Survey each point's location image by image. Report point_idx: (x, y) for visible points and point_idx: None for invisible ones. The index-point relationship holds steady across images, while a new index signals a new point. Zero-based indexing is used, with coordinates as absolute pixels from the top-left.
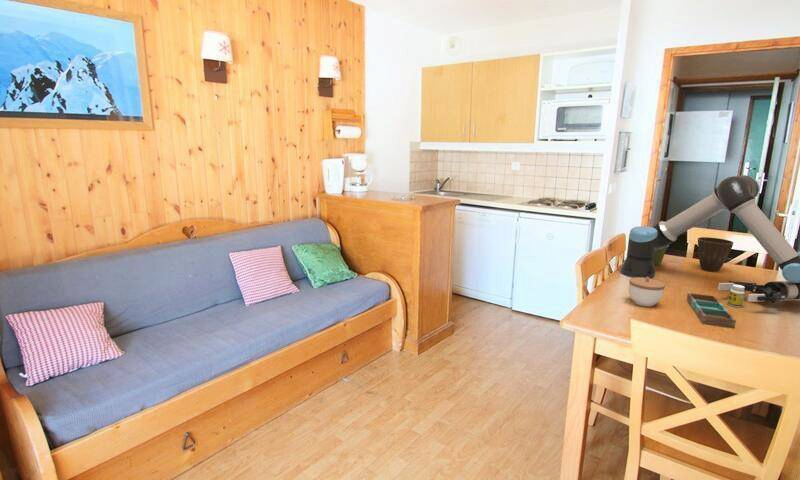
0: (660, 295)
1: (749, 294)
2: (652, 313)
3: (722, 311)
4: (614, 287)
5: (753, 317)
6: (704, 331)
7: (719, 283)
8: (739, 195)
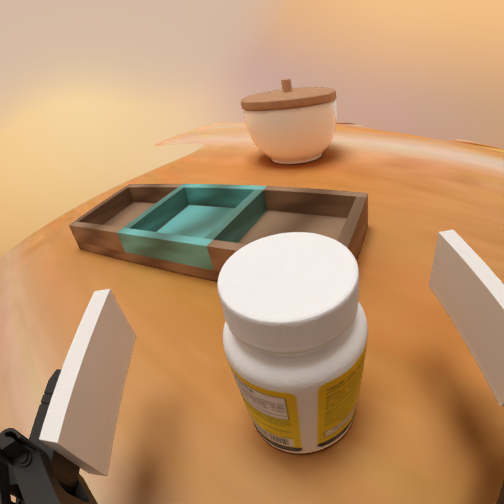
0: (250, 128)
1: (105, 293)
2: (223, 160)
3: (132, 223)
4: (419, 143)
5: None
6: None
7: (449, 231)
8: None
